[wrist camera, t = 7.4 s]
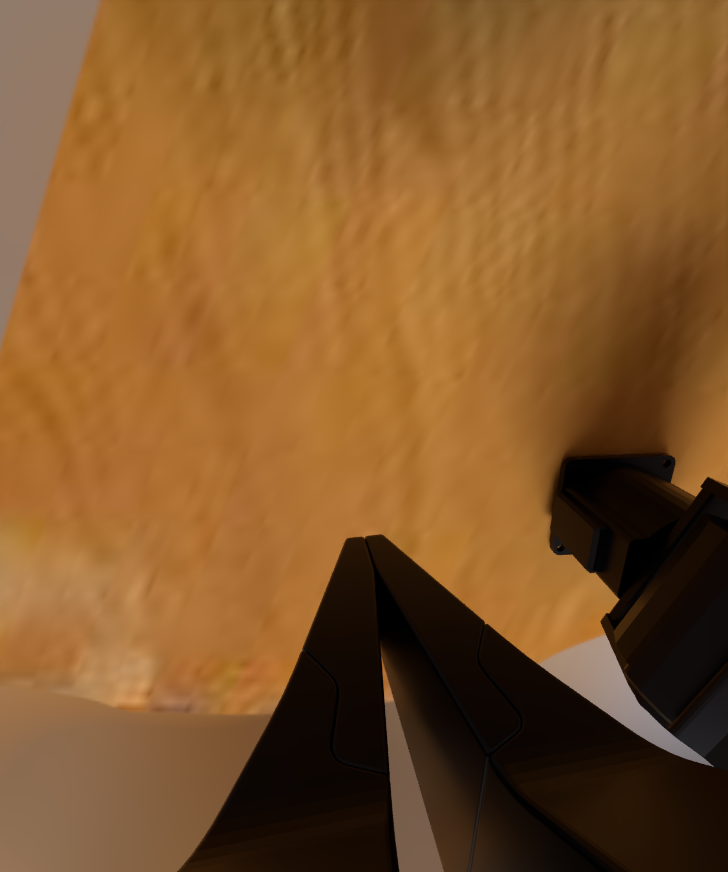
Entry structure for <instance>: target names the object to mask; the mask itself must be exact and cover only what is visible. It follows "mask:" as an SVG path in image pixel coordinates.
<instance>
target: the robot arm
mask: <svg viewBox="0 0 728 872" xmlns="http://www.w3.org/2000/svg"><path fill="white" fill-rule="evenodd" d="M665 460H666V462H665V463H664V464H663V462H664V461H665ZM571 464H574V467H572V468H571V469H569V467H570V465H571ZM674 467H675V458H674V457H672V456H670V455H668V454H665V453H658V454H633V455H608V456H583V457H569V458H567V459H565V460H564V461H563V463H562V466H561V473H560V479H559V486H558V492H557V493H556V494H555V500H554V507H553V513H552V520H551V527H550V529H551V531H552V534H551V541H550V548H551V550H552V551H553V552H554V553H555V554H557V555H571V554H573V556H574V557H575V558H576V559H577V560H578V561H579V562H580V563H581V565H582V566H583V567H584V568H585V569H586V570H587V571H588V572H589V573H596V574H597V575H598V576H599V577H600V578H601V580H602V581H603V582H604V583H605V584H606V585H607V586H608V587H609V588H610V589H611V591H612V592H613V593H614V594H615V595H616V596H617V597H618V598H619V599H620V600H619V601H618V602H617V604H616V605H615V606H614V608H613V609H612V610H611V612H610V613H606V614H605V616H604V617H603V618H602V620H601V624H602V627H603V629H604V631H605V633H606V636H607V638H608V640H609V642H610V645H611V647H612V649H613V651H614V653H615V655H616V658H617V660H618V662H619V665H620V667H621V669H622V672H623V673H624V676H625V678H626V680H627V683H628V685H629V686H630V688H631V690H632V692H633V693H634V695H635V697H636V699H637V701H638V702H639V704H640V705H641V706H642V707H643V708H644V709H645V710H647V711H648V712H649V713H650V714H651V715H652V716H653V717H654V718H655V719H656V720H657V721H658V722H659V723H660V724H661V725H662V726H663V727H664V728H665V729H667V730H668V731H669V732H670V733H671V734H672V735H674V736H675V737H676V738H677V739H679V740H680V741H681V742H683V743H684V744H686V745H687V746H688V747H690V748H691V749H693V750H694V751H695V752H697V753H698V754H699V755H701V756H702V757H703V758H705V759H706V760H707V761H708V762H709V763H710V764H711V765H713V766H714V767H712V766H708V765H705V764H701V763H697V762H694V761H691V760H688V759H685V758H682V757H680V756H677V755H674V754H672V753H670V752H668V751H666V750H664V749H661V748H659V747H657V746H656V745H654V744H652V743H650V742H648V741H647V740H645V739H644V738H642V737H640V736H639V735H637V734H636V733H634V732H633V731H631V730H630V729H628V728H627V727H625V726H624V725H622V724H621V723H620V722H618V721H617V720H615V719H614V718H613V717H611V716H610V715H608V714H607V713H606V712H604V711H603V710H601V709H600V708H598V707H597V706H596V705H594V704H593V703H591V702H590V701H589V700H587V699H586V698H584V697H583V696H581V695H580V694H579V693H577V692H576V691H574V690H573V689H571V688H570V687H569V686H567V685H566V684H564V683H563V682H561V681H560V680H559V679H557V678H556V677H555V676H553V675H552V674H550V673H549V672H548V671H546V670H545V669H544V668H542V667H541V666H540V665H538V664H537V663H536V662H534V661H533V660H531V659H530V658H529V657H527V656H526V655H525V654H524V653H522V652H521V651H520V650H519V649H517V648H516V647H515V646H514V645H512V644H511V643H510V642H509V641H507V640H506V639H505V638H504V637H503V636H501V635H500V634H499V633H498V632H497V631H495V630H494V629H493V628H492V627H491V626H490V625H488V624H485V622H484V621H483V620H482V619H481V618H480V617H479V616H478V615H476V614H475V613H474V612H473V611H472V610H471V609H469V608H468V607H467V606H466V605H465V604H463V603H462V602H461V601H460V600H459V599H458V598H456V597H455V596H454V595H453V594H452V593H451V592H449V591H448V590H447V589H446V588H445V587H444V586H442V585H441V584H440V583H439V582H438V581H436V580H435V579H434V578H433V577H432V576H431V575H429V574H428V573H427V572H426V571H425V570H424V569H422V568H421V567H420V566H419V565H418V564H417V563H415V562H414V561H413V560H412V559H411V558H409V557H408V556H407V555H406V554H405V553H404V552H402V551H401V550H400V549H399V548H398V547H397V546H395V545H394V544H393V543H392V542H391V541H390V540H388V539H387V538H386V537H385V536H384V535H371V536H366V537H365V539H364V537H353V538H347V539H346V541H345V543H344V545H343V548H342V550H341V553H340V555H339V558H338V560H337V563H336V566H335V568H334V571H333V573H332V576H331V578H330V581H329V583H328V586H327V588H326V591H325V593H324V596H323V598H322V601H321V603H320V606H319V608H318V611H317V613H316V616H315V618H314V621H313V623H312V626H311V628H310V631H309V633H308V636H307V638H306V641H305V643H304V646H303V649H302V650H303V651H302V652H301V653H300V655H299V658H298V660H297V663H296V665H295V668H294V670H293V673H292V675H291V677H290V679H289V682H288V684H287V686H286V689H285V691H284V693H283V695H282V697H281V699H280V701H279V703H278V705H277V707H276V709H275V711H274V713H273V715H272V717H271V719H270V721H269V723H268V725H267V726H266V728H265V730H264V732H263V734H262V736H261V737H260V739H259V741H258V743H257V744H256V746H255V748H254V750H253V752H252V754H251V756H250V758H249V759H248V761H247V763H246V764H245V766H244V768H243V770H242V772H241V774H240V776H239V777H238V779H237V781H236V783H235V784H234V786H233V788H232V790H231V792H230V793H229V795H228V797H227V799H226V801H225V802H224V804H223V806H222V808H221V810H220V811H219V813H218V815H217V817H216V818H215V820H214V822H213V824H212V825H211V827H210V828H209V830H208V831H207V833H206V835H205V836H204V838H203V839H202V841H201V842H200V844H199V845H198V846H197V848H196V849H195V851H194V852H193V853H192V855H191V856H190V857H189V858H188V860H187V861H186V862H185V863H184V865H183V866H182V867H181V868H180V869H179V870H178V871H177V872H399V866H398V858H397V849H396V842H395V832H394V823H393V811H392V799H391V787H390V772H389V758H388V744H387V730H386V717H385V702H384V688H383V674H382V660H383V663H384V667H385V670H386V674H387V677H388V681H389V684H390V687H391V691H392V694H393V698H394V701H395V705H396V708H397V712H398V715H399V719H400V722H401V725H402V729H403V732H404V736H405V739H406V743H407V746H408V750H409V753H410V756H411V760H412V763H413V766H414V770H415V773H416V777H417V780H418V784H419V787H420V791H421V794H422V798H423V801H424V804H425V808H426V812H427V815H428V818H429V822H430V825H431V829H432V832H433V836H434V839H435V843H436V846H437V850H438V853H439V856H440V860H441V863H442V867H443V870H444V872H728V485H726V484H724V483H721V482H719V481H717V480H714V479H712V478H709V477H707V478H706V480H705V481H704V482H703V484H702V485H701V486H700V487H701V488H702V490H701V491H700V492H699V494H698V495H697V496H696V497H695V496H693V495H691V494H690V493H688V492H686V491H684V490H682V489H681V488H679V487H677V486H675V485H673V484H672V483H671V479H672V475H673V471H674ZM559 545H561V546H560V547H559V548H557V547H558V546H559ZM381 656H382V660H381Z"/></svg>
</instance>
